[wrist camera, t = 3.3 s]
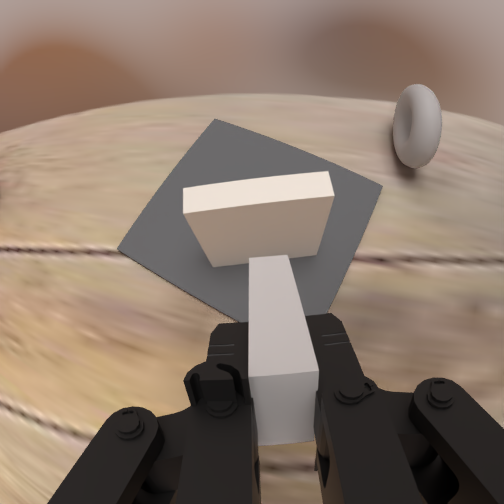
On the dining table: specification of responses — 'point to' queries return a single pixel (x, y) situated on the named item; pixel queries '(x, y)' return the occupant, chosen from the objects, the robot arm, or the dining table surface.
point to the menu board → (259, 216)
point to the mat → (241, 168)
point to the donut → (417, 126)
